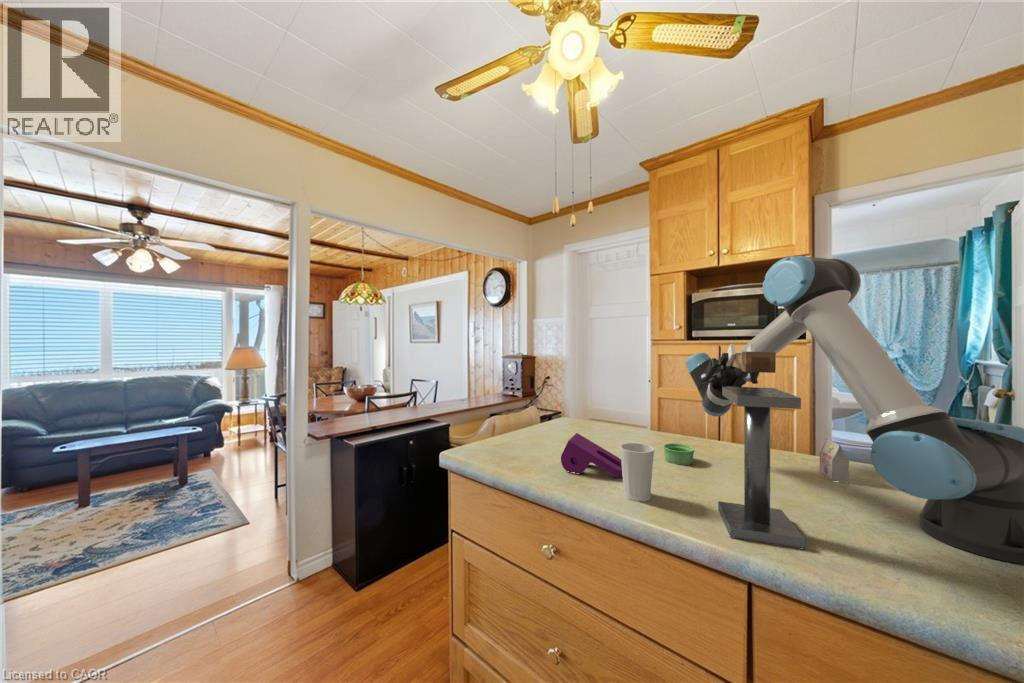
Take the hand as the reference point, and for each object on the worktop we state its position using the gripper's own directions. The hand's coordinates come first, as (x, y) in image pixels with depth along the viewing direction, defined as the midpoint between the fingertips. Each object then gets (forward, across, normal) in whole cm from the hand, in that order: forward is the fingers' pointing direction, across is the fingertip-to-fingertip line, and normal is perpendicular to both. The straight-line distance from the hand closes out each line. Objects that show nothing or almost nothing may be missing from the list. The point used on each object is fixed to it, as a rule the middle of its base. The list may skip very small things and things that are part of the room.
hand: (742, 349), depth 84 cm
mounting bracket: (-28, +35, -26) cm, 52 cm away
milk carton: (-42, -28, -18) cm, 54 cm away
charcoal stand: (-9, 0, -37) cm, 38 cm away
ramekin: (-44, +11, -17) cm, 48 cm away
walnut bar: (0, 0, -5) cm, 5 cm away
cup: (-16, +23, -33) cm, 43 cm away
